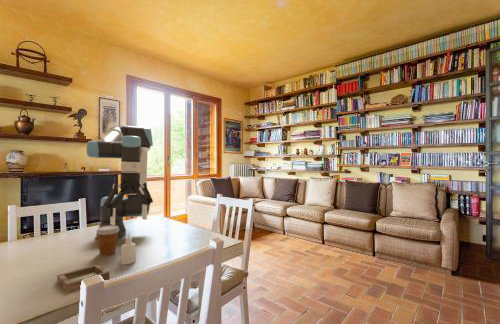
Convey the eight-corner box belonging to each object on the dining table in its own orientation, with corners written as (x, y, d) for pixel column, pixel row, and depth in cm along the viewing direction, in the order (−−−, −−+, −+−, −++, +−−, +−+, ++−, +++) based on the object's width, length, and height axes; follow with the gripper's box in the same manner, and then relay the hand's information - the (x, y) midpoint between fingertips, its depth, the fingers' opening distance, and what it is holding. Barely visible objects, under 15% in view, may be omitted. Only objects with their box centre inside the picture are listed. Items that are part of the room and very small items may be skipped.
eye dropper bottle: (123, 260, 109) (124, 233, 109) (136, 260, 110) (137, 233, 110) (119, 264, 105) (119, 236, 105) (132, 264, 105) (133, 236, 105)
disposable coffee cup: (94, 258, 111) (95, 231, 111) (96, 251, 120) (97, 226, 120) (118, 255, 116) (119, 229, 116) (119, 248, 124) (119, 224, 124)
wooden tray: (57, 282, 89) (57, 275, 89) (97, 270, 99) (97, 264, 99) (67, 292, 82) (67, 285, 82) (109, 278, 92) (109, 272, 92)
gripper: (102, 172, 95) (101, 228, 95) (161, 172, 115) (160, 218, 115) (94, 172, 100) (93, 225, 100) (152, 171, 120) (151, 216, 119)
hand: (129, 221), depth 107 cm, fingers open, 13 cm apart
